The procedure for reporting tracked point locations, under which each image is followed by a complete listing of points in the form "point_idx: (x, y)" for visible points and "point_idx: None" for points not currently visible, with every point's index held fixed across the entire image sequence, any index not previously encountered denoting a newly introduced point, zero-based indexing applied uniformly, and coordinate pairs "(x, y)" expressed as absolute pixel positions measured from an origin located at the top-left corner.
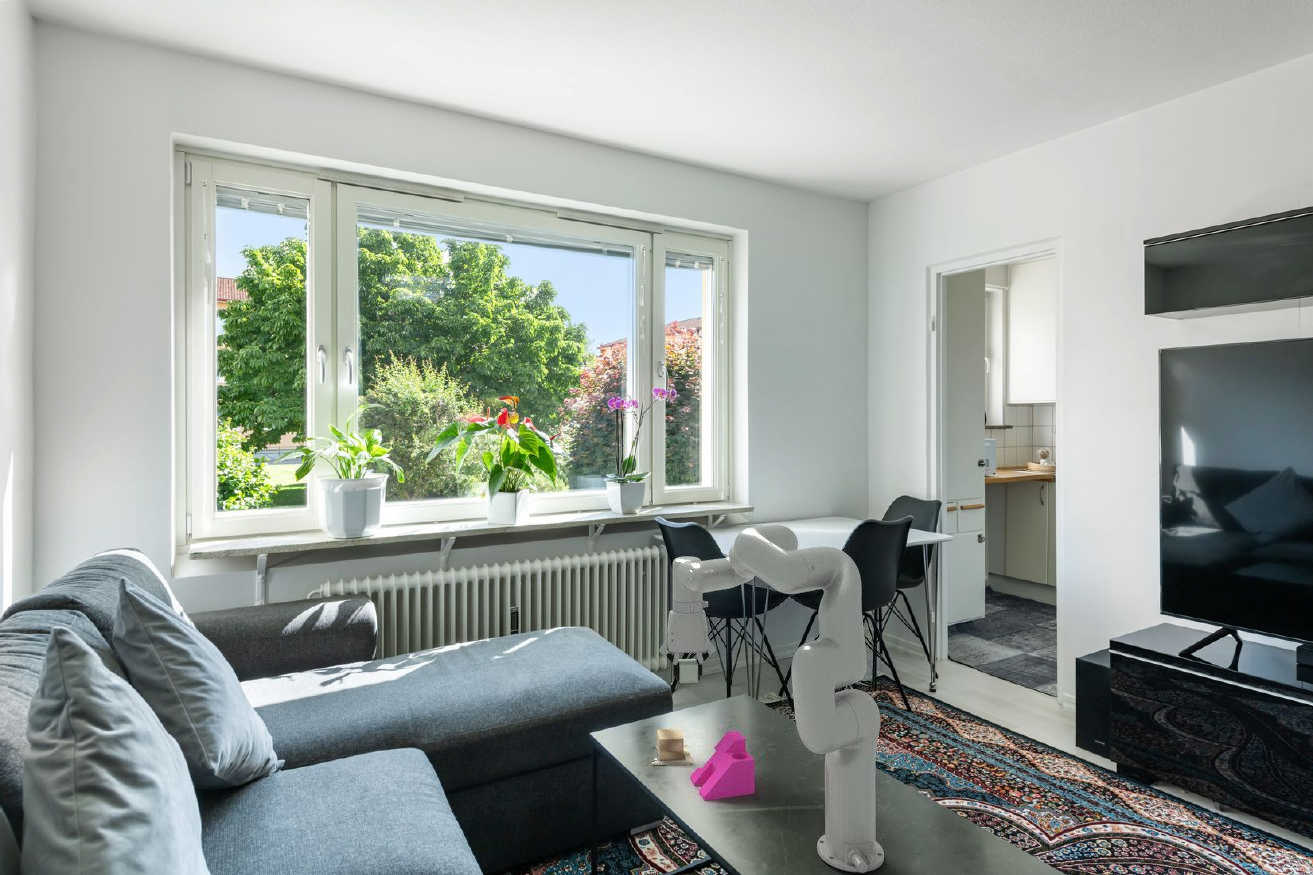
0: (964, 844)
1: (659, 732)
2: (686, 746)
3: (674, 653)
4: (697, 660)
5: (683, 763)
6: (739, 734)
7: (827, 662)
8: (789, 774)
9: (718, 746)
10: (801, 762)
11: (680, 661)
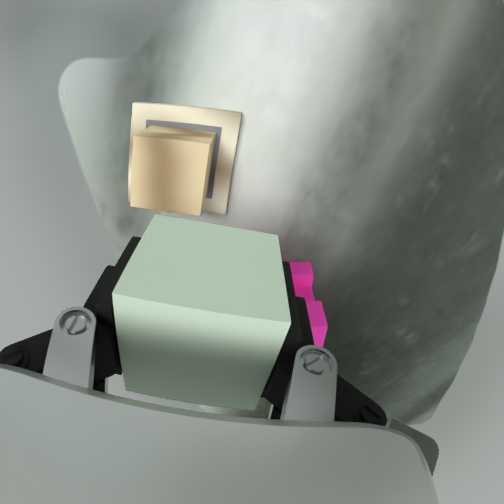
0: (419, 410)
1: (137, 158)
2: (237, 121)
3: (58, 378)
4: (273, 392)
5: (202, 210)
6: (319, 343)
7: None
8: (393, 288)
9: None
10: (440, 254)
11: (132, 340)
